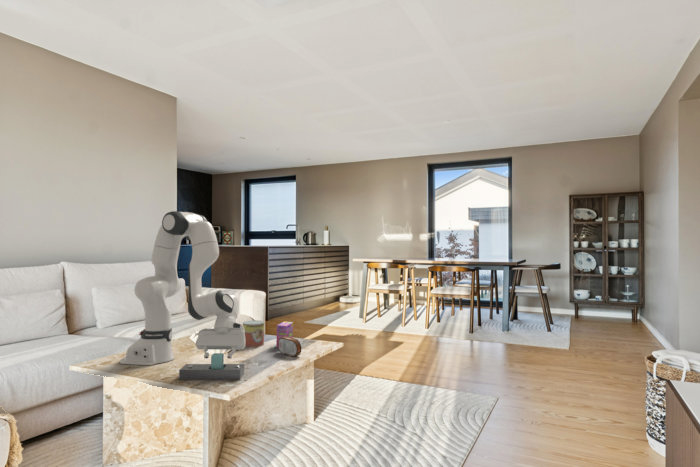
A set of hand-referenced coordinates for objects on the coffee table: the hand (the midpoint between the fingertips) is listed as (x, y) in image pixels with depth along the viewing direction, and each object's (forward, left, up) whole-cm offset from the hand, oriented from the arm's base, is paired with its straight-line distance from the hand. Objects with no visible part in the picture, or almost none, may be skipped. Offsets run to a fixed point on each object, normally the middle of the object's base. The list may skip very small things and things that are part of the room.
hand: (217, 357), depth 173 cm
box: (+22, +50, -8) cm, 55 cm away
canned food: (+5, +52, -8) cm, 53 cm away
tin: (+26, +32, -8) cm, 42 cm away
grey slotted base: (-2, -1, -7) cm, 8 cm away
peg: (0, -1, -7) cm, 7 cm away
